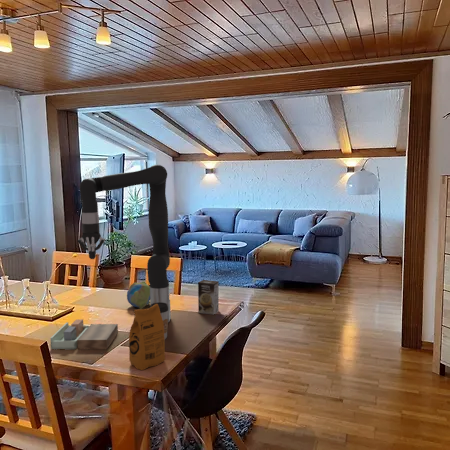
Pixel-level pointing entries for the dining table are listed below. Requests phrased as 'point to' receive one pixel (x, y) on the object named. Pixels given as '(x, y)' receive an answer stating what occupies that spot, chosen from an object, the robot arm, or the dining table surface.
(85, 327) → the tray
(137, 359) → the coffee package
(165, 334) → the coffee cup
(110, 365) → the dining table surface
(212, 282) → the coffee box
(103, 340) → the grey brown flat block
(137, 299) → the blue green round ball
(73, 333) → the slate tile
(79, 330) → the terracotta tile
